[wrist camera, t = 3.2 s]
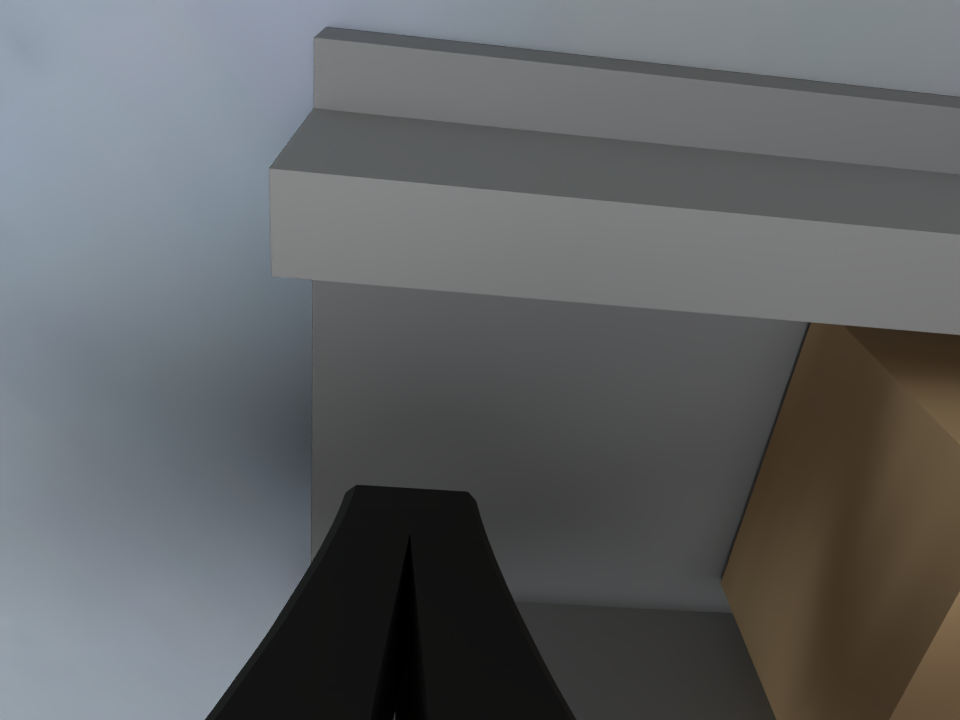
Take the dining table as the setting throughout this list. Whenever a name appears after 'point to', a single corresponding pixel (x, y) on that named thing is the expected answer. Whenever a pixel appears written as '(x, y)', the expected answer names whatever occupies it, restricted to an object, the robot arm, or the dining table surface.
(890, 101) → the channel
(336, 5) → the dining table surface
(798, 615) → the keeper
